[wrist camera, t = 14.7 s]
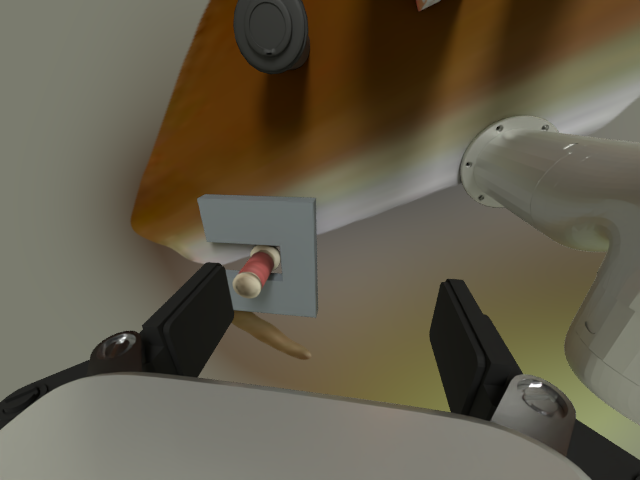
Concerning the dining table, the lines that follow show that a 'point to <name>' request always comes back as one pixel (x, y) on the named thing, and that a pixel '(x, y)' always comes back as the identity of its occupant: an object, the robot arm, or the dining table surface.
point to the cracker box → (425, 3)
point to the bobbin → (256, 270)
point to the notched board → (269, 229)
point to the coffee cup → (272, 34)
